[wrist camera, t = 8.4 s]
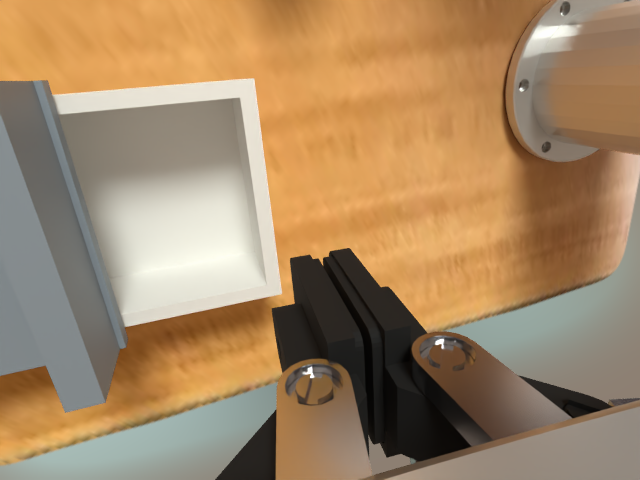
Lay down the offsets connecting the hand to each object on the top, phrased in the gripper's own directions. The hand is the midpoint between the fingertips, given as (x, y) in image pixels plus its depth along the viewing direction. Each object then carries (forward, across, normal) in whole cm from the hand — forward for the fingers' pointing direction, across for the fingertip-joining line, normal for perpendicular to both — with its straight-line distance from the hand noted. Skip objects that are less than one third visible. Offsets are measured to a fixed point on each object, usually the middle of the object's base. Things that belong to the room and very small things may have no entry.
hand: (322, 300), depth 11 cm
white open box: (+17, +7, 0) cm, 19 cm away
